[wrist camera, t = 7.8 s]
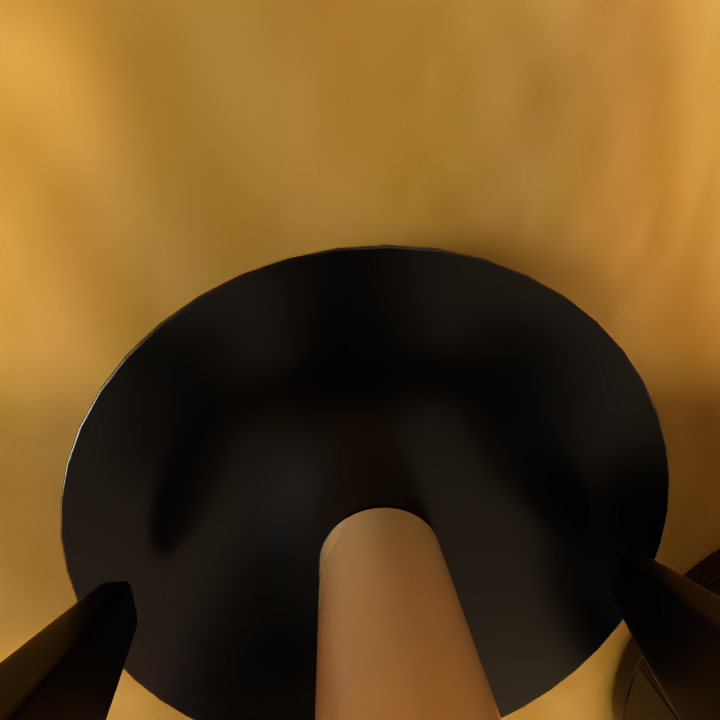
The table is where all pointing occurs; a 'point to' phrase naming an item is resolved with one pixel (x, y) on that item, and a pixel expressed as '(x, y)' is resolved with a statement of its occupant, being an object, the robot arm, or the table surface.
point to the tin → (634, 678)
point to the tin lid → (366, 490)
